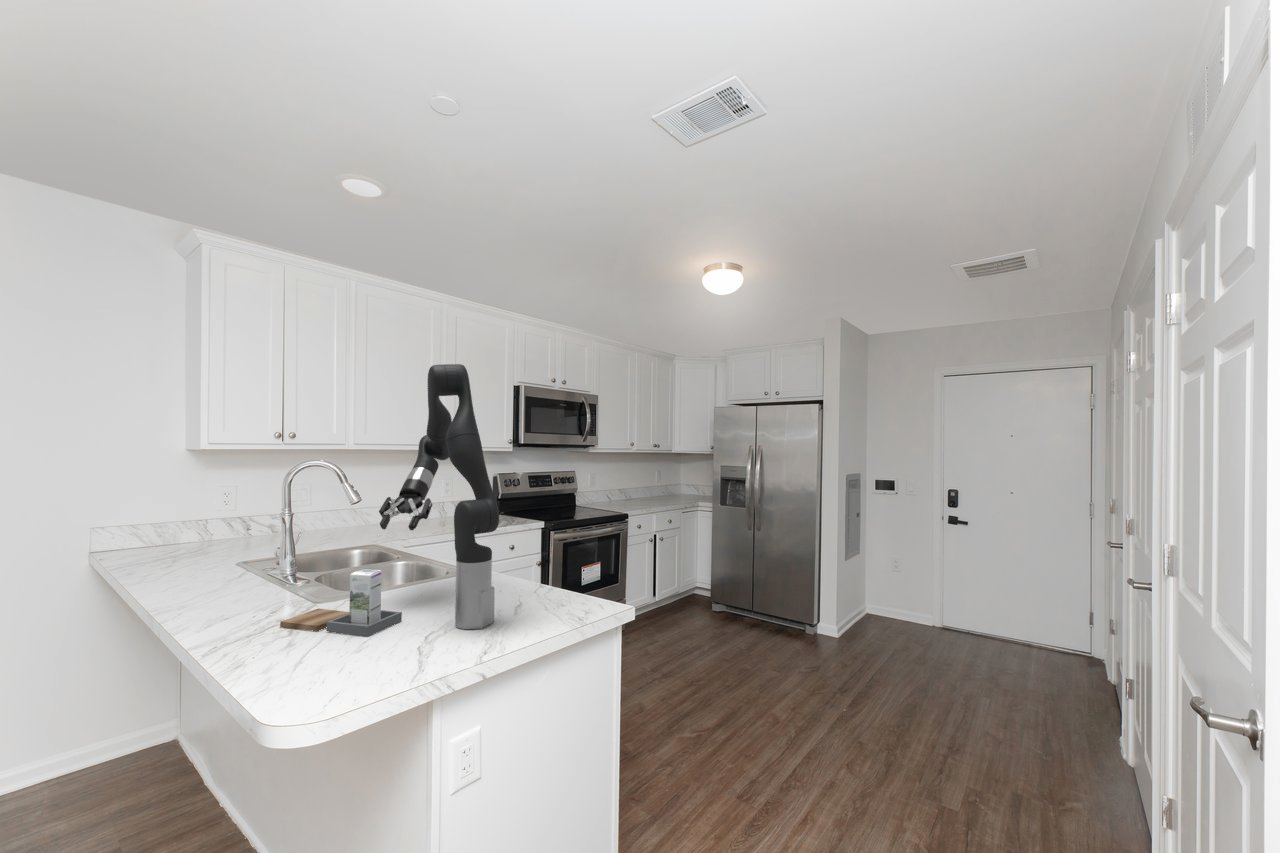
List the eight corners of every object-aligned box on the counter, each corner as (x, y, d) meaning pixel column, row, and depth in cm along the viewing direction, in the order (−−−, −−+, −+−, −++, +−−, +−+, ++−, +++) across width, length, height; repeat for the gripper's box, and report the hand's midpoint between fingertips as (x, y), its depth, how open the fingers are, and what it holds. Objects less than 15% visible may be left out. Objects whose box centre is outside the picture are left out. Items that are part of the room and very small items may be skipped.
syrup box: (381, 623, 151) (382, 569, 151) (368, 630, 145) (370, 574, 145) (361, 622, 151) (362, 568, 152) (347, 629, 145) (349, 573, 146)
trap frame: (401, 621, 152) (401, 612, 152) (367, 636, 140) (367, 626, 140) (363, 617, 156) (363, 608, 156) (326, 631, 144) (326, 621, 144)
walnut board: (352, 617, 155) (353, 612, 155) (317, 631, 143) (317, 625, 143) (317, 613, 158) (318, 608, 158) (280, 627, 147) (280, 621, 147)
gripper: (391, 476, 172) (368, 519, 160) (435, 477, 171) (415, 521, 159) (399, 492, 177) (378, 535, 165) (442, 493, 176) (424, 536, 164)
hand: (396, 528), depth 162 cm, fingers open, 8 cm apart
